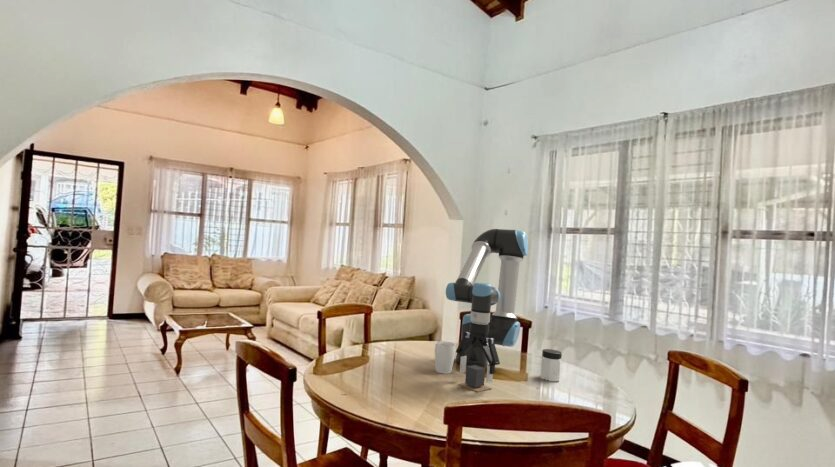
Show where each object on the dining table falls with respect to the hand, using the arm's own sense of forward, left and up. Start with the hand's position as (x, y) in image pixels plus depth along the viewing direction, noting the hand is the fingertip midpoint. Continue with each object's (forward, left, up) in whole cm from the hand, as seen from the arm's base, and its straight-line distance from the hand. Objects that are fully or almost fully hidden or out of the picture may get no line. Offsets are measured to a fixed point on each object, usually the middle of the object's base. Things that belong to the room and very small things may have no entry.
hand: (475, 377), depth 174 cm
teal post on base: (0, 0, -4) cm, 4 cm away
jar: (+8, +41, -4) cm, 42 cm away
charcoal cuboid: (0, 0, -3) cm, 3 cm away
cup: (-21, +4, -4) cm, 22 cm away
